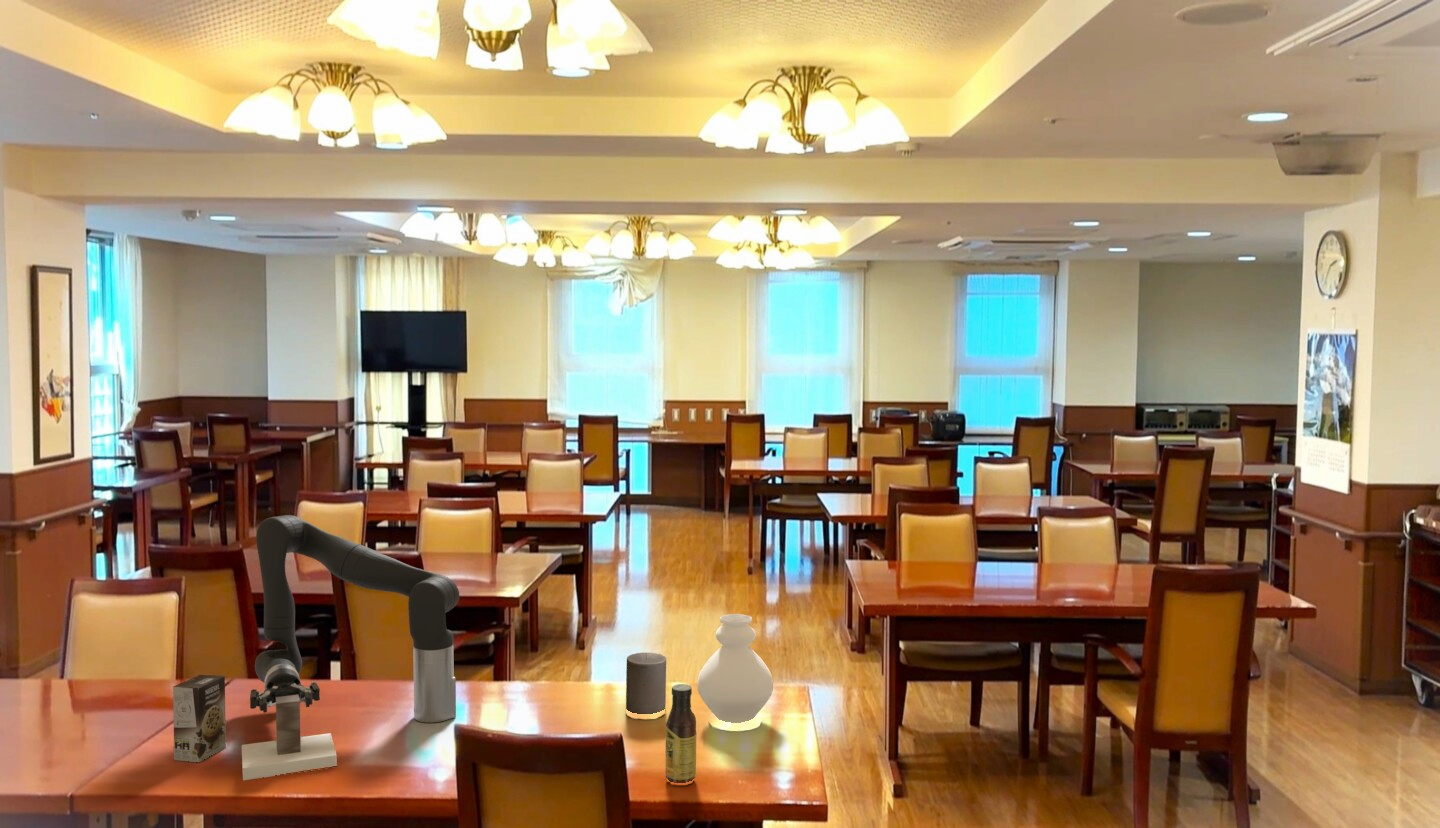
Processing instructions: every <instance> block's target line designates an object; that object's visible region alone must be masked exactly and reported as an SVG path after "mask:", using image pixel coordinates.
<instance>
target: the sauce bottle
mask: <svg viewBox="0 0 1440 828" xmlns="http://www.w3.org/2000/svg"><path fill="white" fill-rule="evenodd" d="M692 691H693V690H692V686H691V685H689V684H687V683H686V684H685V683H678V684H675V685H673V686H671V695H672V704H671V709H670V712H669V714H668V717H667V720H666V723H665V779H666V778H667V779H668V780H669V781H670V782H674V783H686V782H689V781H692V780H693V779H694V778H695V779H696V775H697V719H696V716H695V713H694V712H693V711H692V703H691V700H692V699H691V698H692V697H691V696H692V693H693V692H692Z"/></svg>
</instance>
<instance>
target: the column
mask: <svg viewBox="0 0 1440 828" xmlns="http://www.w3.org/2000/svg"><path fill="white" fill-rule="evenodd" d="M300 704H301V703H300V700H299V695H290V696H282V697H276V705H275V721H276V723H275V727H276V728H275V729H276V730H275V731H276V732H275V733H276V737H275V738H276V740H277V755H283V754H290V753H298V752H301V744H300V737H301V705H300Z"/></svg>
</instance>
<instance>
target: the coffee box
mask: <svg viewBox="0 0 1440 828" xmlns="http://www.w3.org/2000/svg"><path fill="white" fill-rule="evenodd" d="M225 677H226V676H224V675H216V674H215V675H214V674H213V675H211V674H198V675H197V676H194V677H193V678H189V679H187V680H185V681H183V682H181V683H178V684H175V685H174V686H172V690H173V691H172V694H173V695H172V697H173V699H172V700H173V702H172V703H173V704H172V705H173V707H172V708H173V713H172V714H173V717H172V718H173V760H174V761H181V762H188V761H189V762H188V763H196V762H198V763H201V762H203V761H205V760H206V759H208V758H210V757H212V756H213V754H214V755H216V754H218V753H219V752H221V751H222V749H223V750H225V749H226V748H227V731H226V729H227V726H226V725H227V724H226V722H227V721H226V717H227V716H226V678H225ZM224 748H225V749H224ZM215 753H216V754H215ZM211 755H212V756H211ZM209 756H210V757H209ZM204 759H205V760H204Z"/></svg>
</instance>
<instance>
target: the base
mask: <svg viewBox="0 0 1440 828" xmlns="http://www.w3.org/2000/svg"><path fill="white" fill-rule="evenodd" d="M300 744H301V752H298V753H290V754H283V755H277V739H276V740H269V741H260V742H253V743H248V744H241V765H242V766H241V767H242V781H249V780H256V779H262V778H263V777H264V778H270V777H276V776H275V775H277V776H281V775H280V774H284V775H287V774H286V773H291V772H298V771H303V770H310V769H317V768H324V767H332V766H337V767H338V762H337V761H338V760H337V759H338V758H337V757H338V755H337V751H336V748H335V745H334V739H333V737H332V733H331V732H329V733H322V734H314V735H307V736H306V735H305V736H300ZM332 768H333V767H332ZM298 773H299V772H298ZM291 774H292V773H291Z"/></svg>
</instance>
